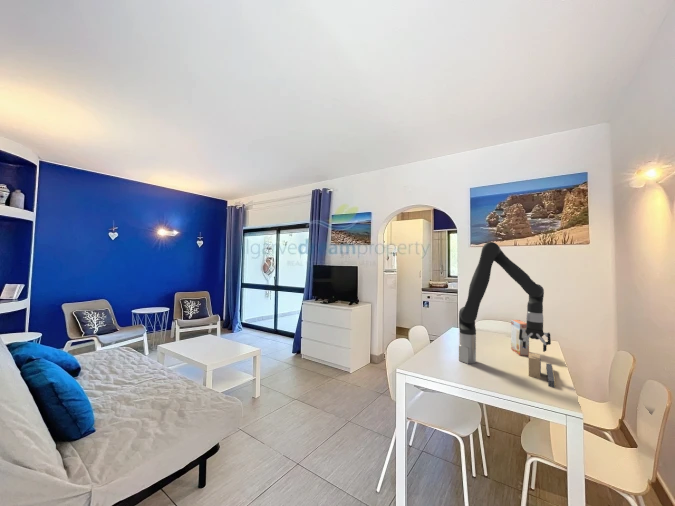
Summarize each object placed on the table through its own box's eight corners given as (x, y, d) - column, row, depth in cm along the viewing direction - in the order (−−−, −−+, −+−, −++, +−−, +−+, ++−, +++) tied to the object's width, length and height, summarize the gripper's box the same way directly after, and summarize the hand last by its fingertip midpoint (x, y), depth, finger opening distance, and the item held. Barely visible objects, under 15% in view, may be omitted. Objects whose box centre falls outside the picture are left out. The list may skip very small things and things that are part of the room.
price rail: (555, 387, 136) (555, 381, 136) (548, 386, 137) (548, 380, 137) (552, 369, 158) (552, 364, 158) (546, 368, 160) (546, 363, 160)
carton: (540, 378, 146) (540, 359, 146) (528, 376, 149) (528, 357, 149) (540, 372, 154) (540, 354, 155) (528, 370, 157) (528, 352, 158)
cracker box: (529, 356, 180) (529, 324, 181) (519, 355, 181) (519, 323, 182) (520, 349, 194) (520, 319, 194) (510, 348, 195) (510, 319, 196)
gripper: (550, 321, 151) (550, 350, 151) (519, 317, 159) (519, 345, 159) (551, 323, 145) (550, 354, 145) (519, 319, 153) (518, 348, 153)
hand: (534, 349), depth 152 cm, fingers open, 8 cm apart
